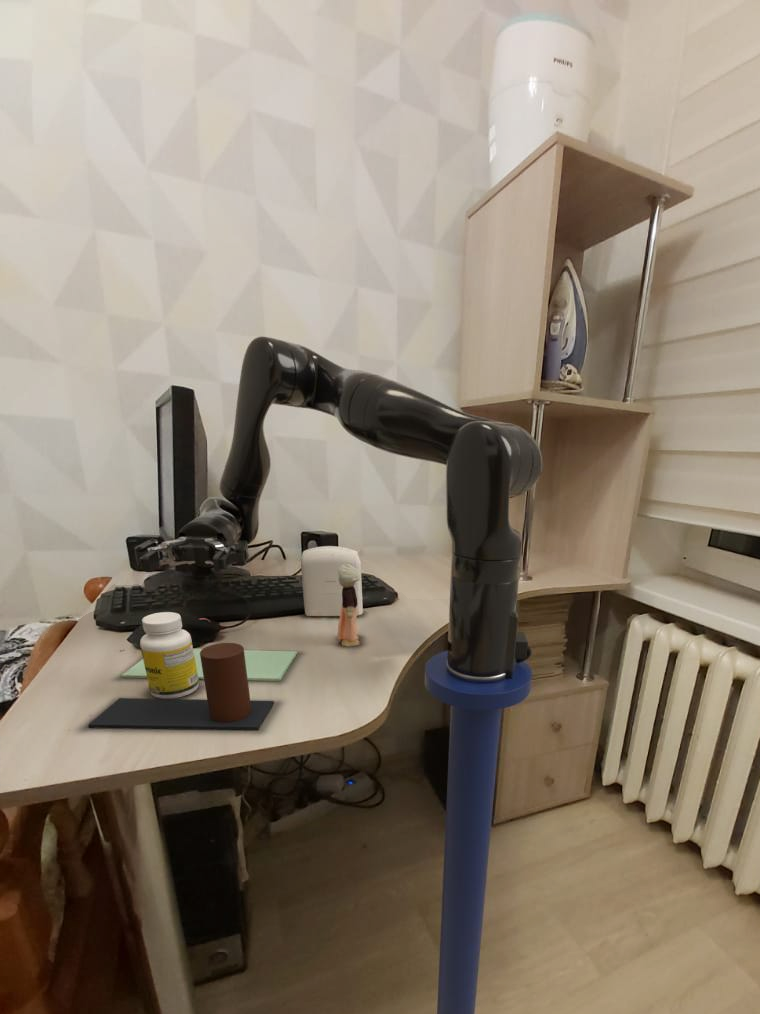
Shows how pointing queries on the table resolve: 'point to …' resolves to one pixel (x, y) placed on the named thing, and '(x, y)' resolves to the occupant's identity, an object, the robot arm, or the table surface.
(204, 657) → the brown cylinder
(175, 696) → the supplement bottle
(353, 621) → the grandmother figurine
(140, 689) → the table surface
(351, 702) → the table surface
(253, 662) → the pale mat
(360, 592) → the photo printer
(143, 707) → the dark mat
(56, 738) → the table surface
